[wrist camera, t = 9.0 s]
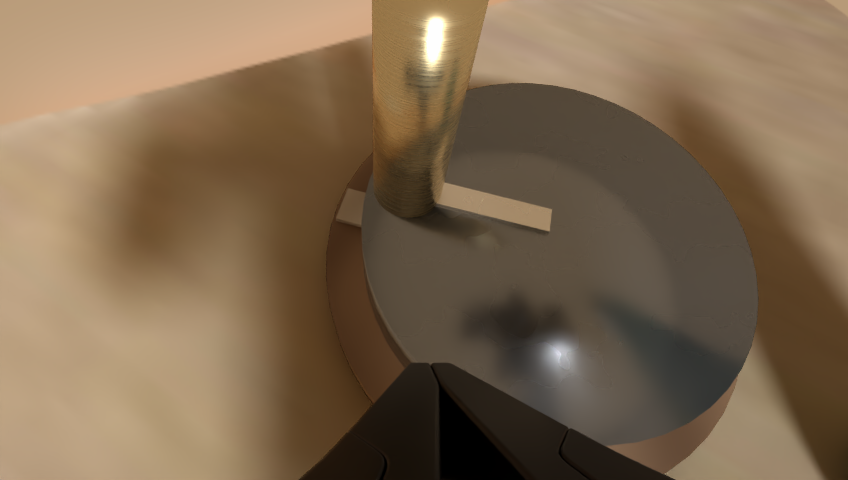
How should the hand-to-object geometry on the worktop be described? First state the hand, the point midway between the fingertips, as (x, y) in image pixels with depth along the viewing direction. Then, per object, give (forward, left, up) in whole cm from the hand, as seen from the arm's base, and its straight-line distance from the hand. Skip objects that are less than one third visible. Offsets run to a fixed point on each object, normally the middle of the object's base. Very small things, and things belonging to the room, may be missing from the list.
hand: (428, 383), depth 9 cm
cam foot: (0, -9, -7) cm, 11 cm away
